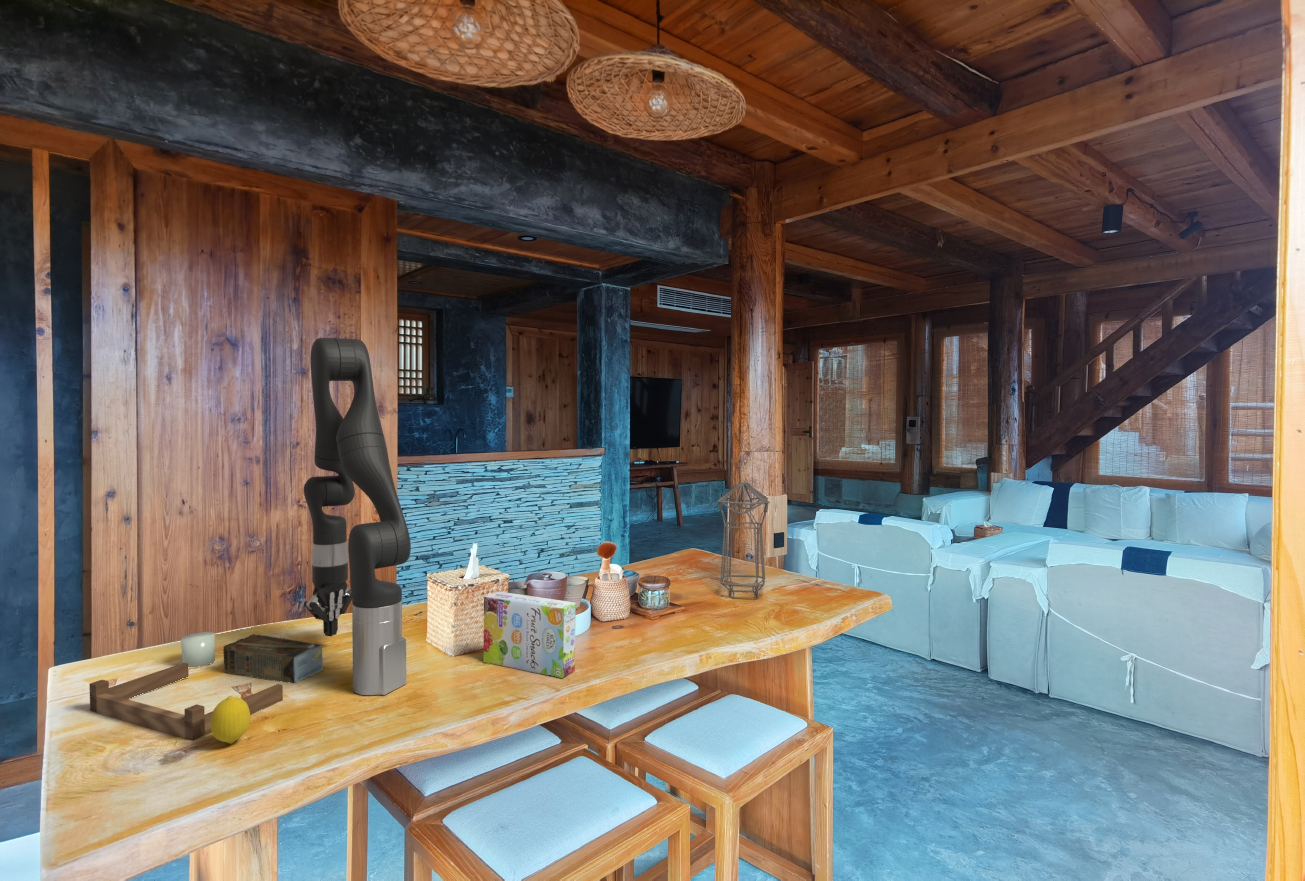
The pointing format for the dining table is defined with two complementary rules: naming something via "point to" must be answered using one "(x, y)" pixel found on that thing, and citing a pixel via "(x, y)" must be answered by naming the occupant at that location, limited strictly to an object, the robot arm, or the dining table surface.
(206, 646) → the grey rounded cylinder
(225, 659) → the beverage carton
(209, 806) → the dining table surface
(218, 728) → the lemon
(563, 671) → the snack box
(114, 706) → the frame
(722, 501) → the geometric lantern
